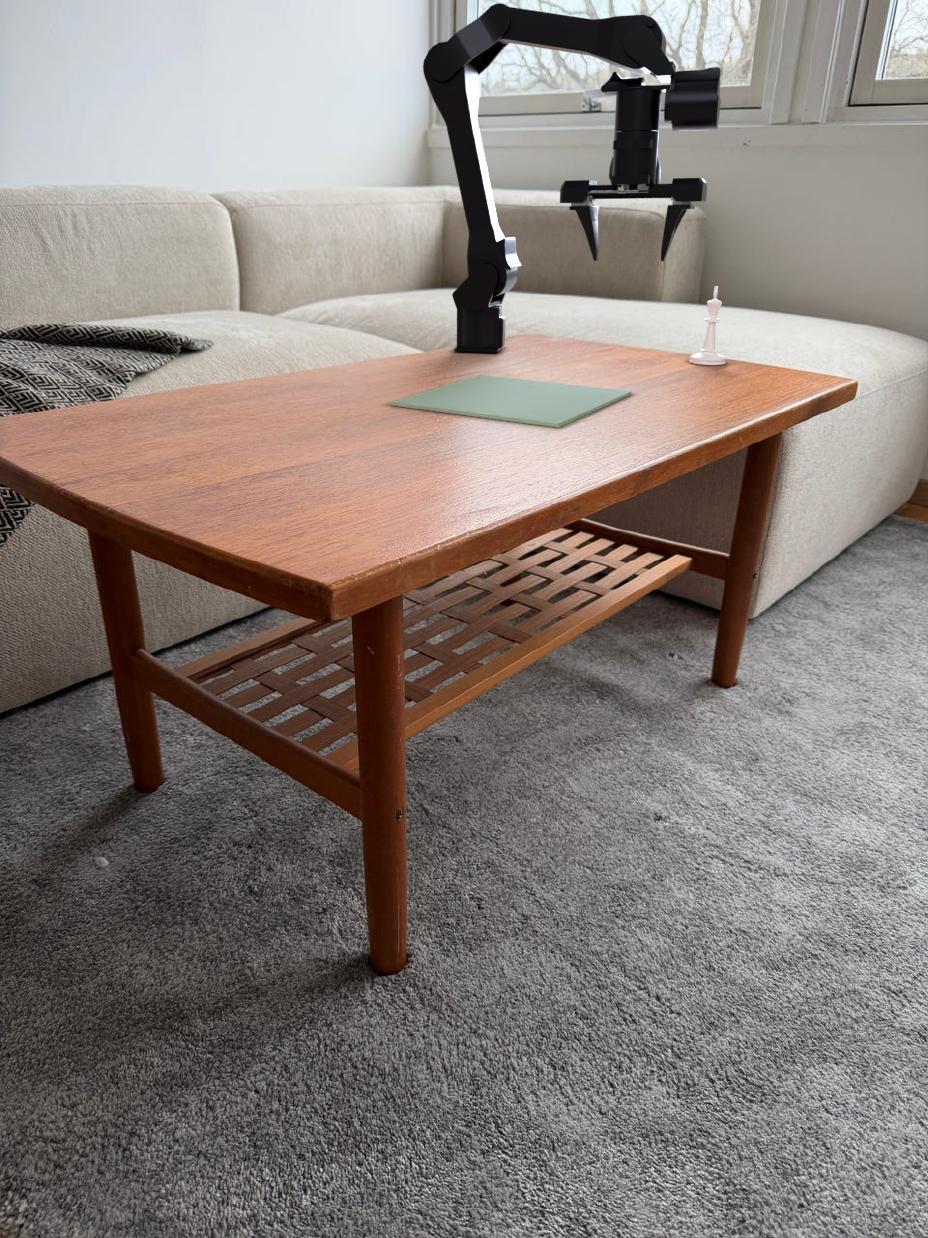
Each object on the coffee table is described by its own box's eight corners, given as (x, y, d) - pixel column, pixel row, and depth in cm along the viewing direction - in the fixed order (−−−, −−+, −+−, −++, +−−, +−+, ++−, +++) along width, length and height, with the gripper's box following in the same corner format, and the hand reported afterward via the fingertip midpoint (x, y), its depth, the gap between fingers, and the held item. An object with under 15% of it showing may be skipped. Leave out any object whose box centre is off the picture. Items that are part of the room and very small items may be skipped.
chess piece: (727, 360, 129) (736, 285, 124) (723, 366, 124) (733, 288, 120) (691, 358, 130) (700, 284, 126) (687, 363, 126) (695, 286, 122)
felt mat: (390, 405, 99) (390, 401, 99) (480, 377, 115) (480, 374, 114) (558, 427, 90) (558, 423, 90) (631, 394, 106) (631, 391, 105)
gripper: (716, 133, 123) (705, 258, 129) (580, 138, 128) (575, 257, 135) (707, 127, 113) (695, 262, 119) (560, 133, 119) (557, 261, 125)
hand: (628, 260), depth 125 cm, fingers open, 9 cm apart
